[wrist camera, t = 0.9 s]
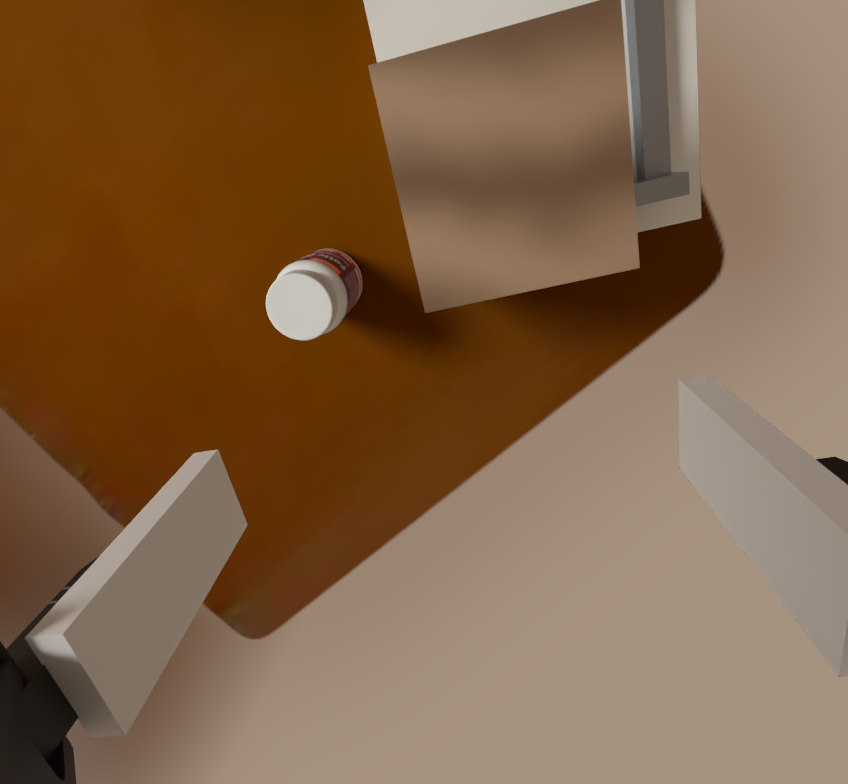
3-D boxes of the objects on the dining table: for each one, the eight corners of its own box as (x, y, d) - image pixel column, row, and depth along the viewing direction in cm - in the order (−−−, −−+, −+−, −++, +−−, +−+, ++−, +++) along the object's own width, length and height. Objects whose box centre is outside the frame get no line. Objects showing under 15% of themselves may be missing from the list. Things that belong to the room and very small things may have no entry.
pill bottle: (360, 246, 37) (335, 265, 29) (365, 312, 39) (343, 346, 31) (294, 247, 37) (252, 267, 29) (302, 313, 39) (265, 347, 31)
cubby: (393, 98, 31) (367, 65, 22) (569, 50, 30) (620, -6, 21) (432, 277, 35) (425, 313, 26) (589, 243, 34) (639, 267, 25)
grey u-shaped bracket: (520, -134, 27) (554, -296, 18) (669, -182, 26) (789, -381, 17) (562, 215, 33) (603, 230, 24) (683, 187, 32) (775, 191, 23)
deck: (320, -206, 28) (311, -233, 26) (669, -332, 25) (686, -372, 23) (427, 273, 37) (425, 279, 35) (688, 216, 35) (701, 218, 33)
